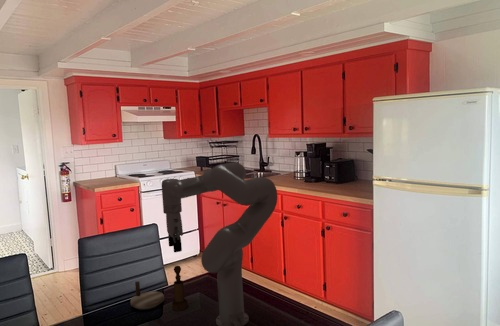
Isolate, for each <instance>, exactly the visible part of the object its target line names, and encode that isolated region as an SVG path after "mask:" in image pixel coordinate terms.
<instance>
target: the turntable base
mask: <svg viewBox="0 0 500 326" xmlns="http://www.w3.org/2000/svg"><path fill="white" fill-rule="evenodd" d="M159 305H160V304H158V305H156V306H153V307H149V308H136V309H137V310H138V311H149V310H153V309H155V308H157V307H158V306H159Z"/></svg>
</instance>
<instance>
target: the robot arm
mask: <svg viewBox="0 0 500 326" xmlns="http://www.w3.org/2000/svg"><path fill="white" fill-rule="evenodd" d="M246 176H247V171H246V168H245V167H244V166H243V164H241V163H239V162H227V163H226V162H225V163H221V164H218V165H215V166H214V167H213V168H211V169H207V170H205V171H204V173H203V174H200V175H197V176H193V177H187V178H183V179H177V178H166V179H163V180H162V181H161V196H162V209H163V211H162V212H163V214H165V217H166V219H165V221H166V231H167V235H168V236H167V237H168V239H167V240H168V247H172V248H173V253H178V252H179V253H180V252H182V251H183V248H182V239H181V237H182V236H184V230H183V222H182V215H181V213H182V212H183V210H182V199H185V198H191V197H194V196H199V195H201V194H202V195H203V194H205V193H209V192H211V193H212V192H216V191H220V192H221V193H222V194H224V195H225V196H227V197H228V198H229V199H231V200H232V201H233V202H235V203H236V204H239V205H241V206H247V208H246V209H245V210H244V211H243V213H242V214H241V215H240V217H239V218H238V219H237V220H236V221H235V222H232V223H231V224H228V225H226V226H223V227H221V228H220V229H218V231H216V233H215V234H214V236H213V237H212V238H211V240H210V241H209V242H208V244H207V245H206V247H205V248H204V250H203V251H202V254H201V260H200V261H201V265H202V267H203V269H204V270H205V271H206V272H208V273H210V274H217V275H216V278H217V279H216V281H217V294H218V295H217V296H218V297H217V298H218V310H219V311H218V312H219V315H218V316H217V317H216V318H215V324H216V325H217V326H245V325H247V324H248V323H249V321H250V320H249V319H250V317H249V315H248V314H247V313H246V312H245V305H244V290H243V289H244V288H243V287H244V286H243V258H244V251H243V249H244V248H246V247H248V246H249V245H250V244H251V243H252V241H253V240H254V239H255V237H256V236H257V235H258V233H259V232H260V231H261V230H262V228H263V227H264V225H266V223H267V221H268V220H269V218H270V217H271V216H272V214H273V212H274V211H275V209H276V207H277V203H278V190H277V187H276V185H275V182H273V181H272V180H271V179H270V178H268V177H260V176H259V177H254V178H250V179H246ZM245 179H246V180H245Z"/></svg>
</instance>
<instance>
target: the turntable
mask: <svg viewBox="0 0 500 326" xmlns="http://www.w3.org/2000/svg"><path fill="white" fill-rule="evenodd" d="M134 284H135V295H134V296H132V297H131V299H130V306H131V307H133V308H135V309H137V308H149V307H153V306H156V305H158V304H159V305H160V304H162V303H163V302H164V300H165V297H164V294H163V292H160V291H156V290H155V291H145V292H141V283H140V281H135V283H134ZM159 305H158V306H159Z"/></svg>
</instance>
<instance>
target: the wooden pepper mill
mask: <svg viewBox="0 0 500 326" xmlns="http://www.w3.org/2000/svg"><path fill="white" fill-rule="evenodd" d="M173 271H174V273H175V276H174V277H175V280H174V282H173V290H174V300H173V301H172V305H171V306H172V307H171V308H172V310H174V311H176V312H180V311H181V312H182V311H184V310H187V309H188V307H189V303H188V300H187V298H185V291H184V289H185V288H184V281H183V280H181V275H180V273H181V272H182V267H181V266H180V265H175V266H174V267H173Z"/></svg>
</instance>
